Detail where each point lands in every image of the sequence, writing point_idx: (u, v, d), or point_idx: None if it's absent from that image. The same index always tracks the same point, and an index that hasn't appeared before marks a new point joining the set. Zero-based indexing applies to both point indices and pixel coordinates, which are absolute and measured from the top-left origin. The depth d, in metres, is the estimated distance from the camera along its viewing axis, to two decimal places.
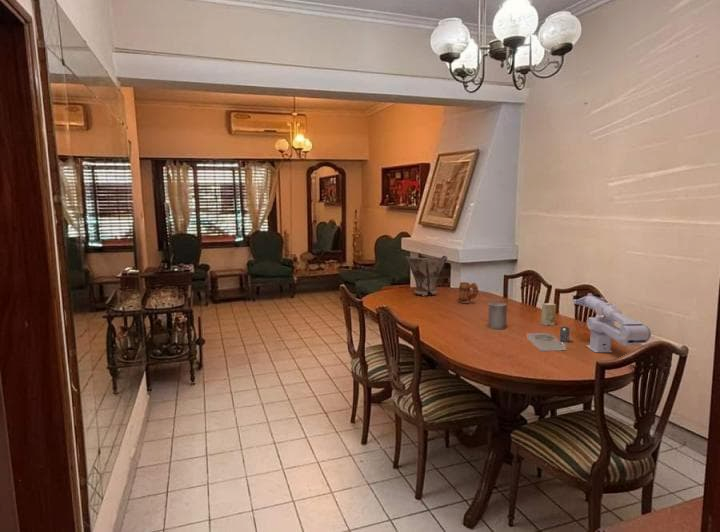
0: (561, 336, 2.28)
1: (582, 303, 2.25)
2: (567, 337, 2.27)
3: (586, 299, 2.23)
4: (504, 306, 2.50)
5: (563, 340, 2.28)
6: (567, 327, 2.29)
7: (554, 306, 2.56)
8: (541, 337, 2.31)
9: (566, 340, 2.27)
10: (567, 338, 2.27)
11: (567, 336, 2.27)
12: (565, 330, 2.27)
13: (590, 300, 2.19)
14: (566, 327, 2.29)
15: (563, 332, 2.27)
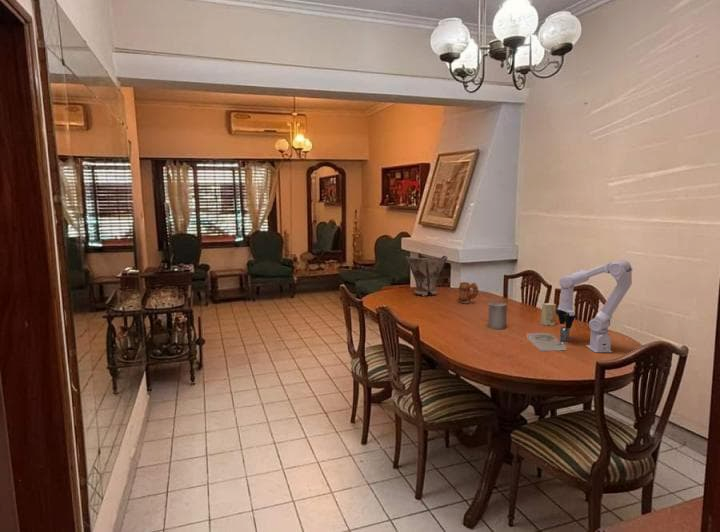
0: (561, 336, 2.28)
1: (570, 310, 2.23)
2: (567, 337, 2.27)
3: (565, 307, 2.24)
4: (504, 306, 2.50)
5: (563, 340, 2.28)
6: None
7: (554, 306, 2.56)
8: (541, 337, 2.31)
9: (566, 340, 2.27)
10: (567, 338, 2.27)
11: (567, 336, 2.27)
12: (565, 330, 2.27)
13: (564, 300, 2.24)
14: None
15: (563, 332, 2.27)
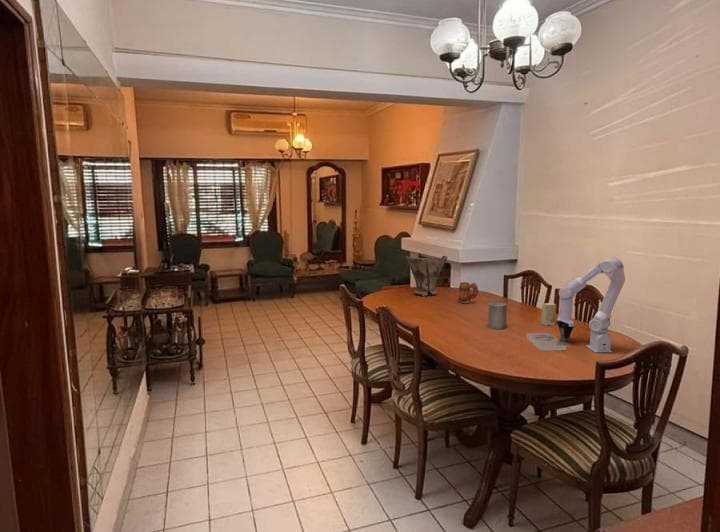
0: (561, 336, 2.28)
1: None
2: None
3: (564, 317, 2.25)
4: (504, 306, 2.50)
5: (563, 340, 2.28)
6: None
7: (554, 306, 2.56)
8: (541, 337, 2.31)
9: (566, 340, 2.27)
10: (567, 338, 2.27)
11: None
12: None
13: (564, 311, 2.25)
14: None
15: (563, 332, 2.27)
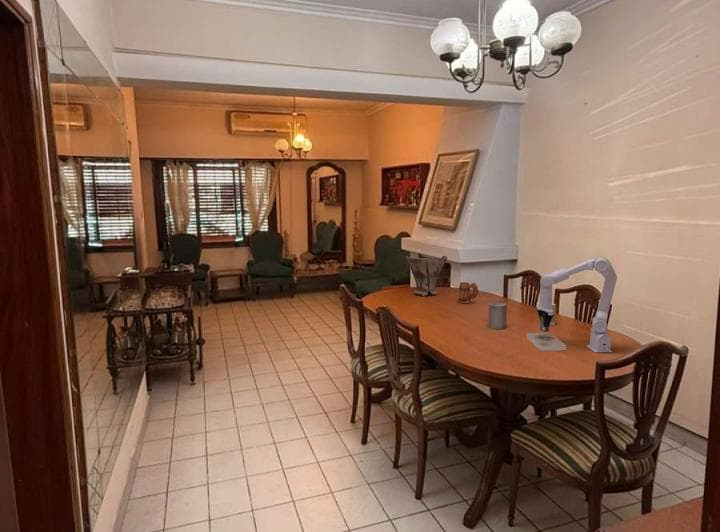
0: (541, 325, 2.26)
1: (550, 310, 2.22)
2: None
3: (544, 306, 2.23)
4: (504, 306, 2.50)
5: (543, 329, 2.25)
6: None
7: (554, 306, 2.56)
8: (541, 337, 2.31)
9: (546, 329, 2.25)
10: (547, 327, 2.25)
11: None
12: None
13: (543, 299, 2.22)
14: None
15: (543, 321, 2.24)
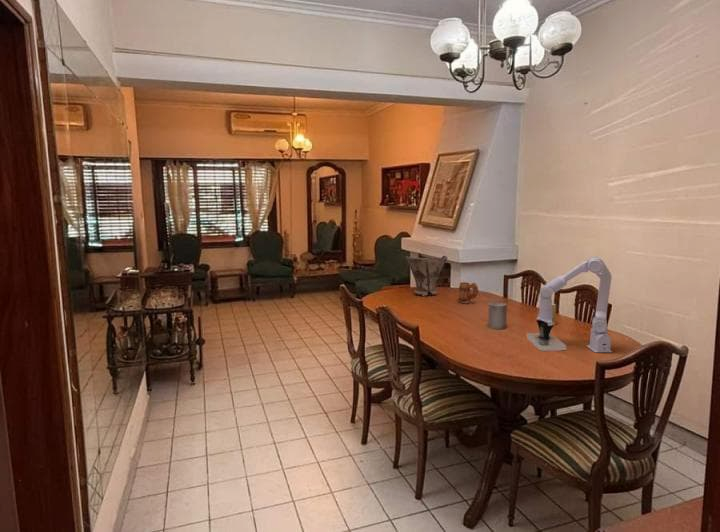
0: (541, 335, 2.27)
1: None
2: None
3: (543, 316, 2.23)
4: (504, 306, 2.50)
5: None
6: None
7: (554, 306, 2.56)
8: None
9: (546, 339, 2.25)
10: (547, 337, 2.25)
11: None
12: None
13: (543, 310, 2.23)
14: None
15: None
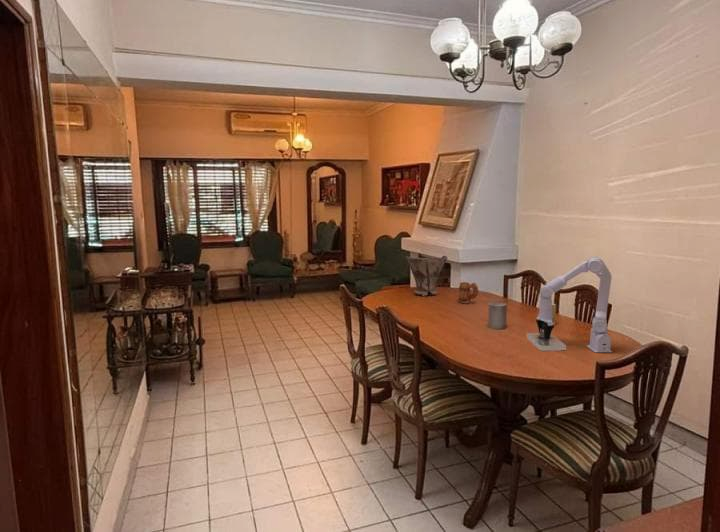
0: (541, 337, 2.27)
1: None
2: (547, 338, 2.25)
3: (543, 316, 2.23)
4: (504, 306, 2.50)
5: None
6: None
7: (554, 306, 2.56)
8: None
9: None
10: (547, 339, 2.26)
11: None
12: None
13: (543, 310, 2.23)
14: None
15: (543, 334, 2.25)
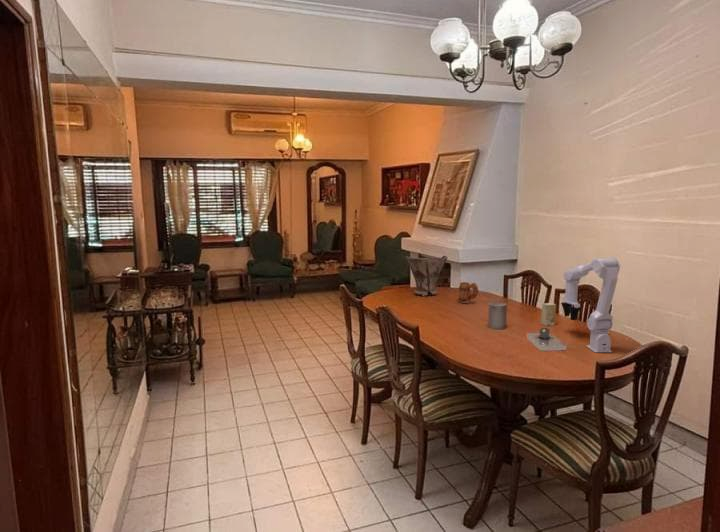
0: (541, 337, 2.27)
1: (575, 303, 2.33)
2: (547, 338, 2.25)
3: (570, 299, 2.33)
4: (504, 306, 2.50)
5: None
6: (547, 328, 2.28)
7: (554, 306, 2.56)
8: None
9: None
10: (547, 339, 2.26)
11: (546, 337, 2.25)
12: (545, 331, 2.25)
13: (569, 293, 2.33)
14: (546, 328, 2.27)
15: (543, 334, 2.25)
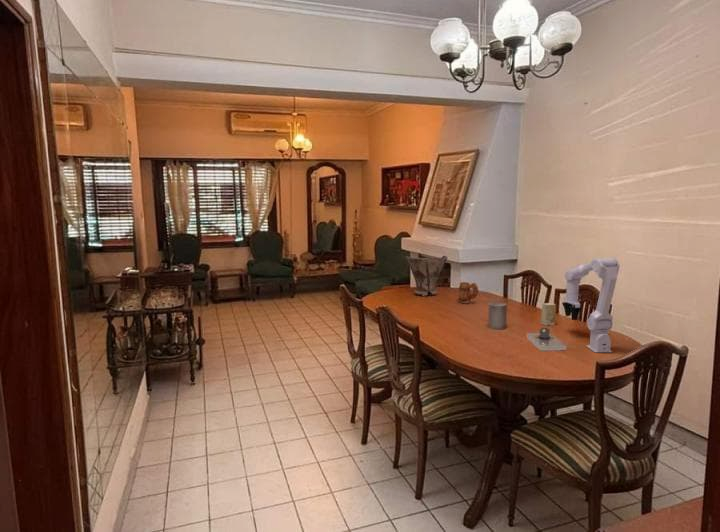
0: (541, 337, 2.27)
1: (576, 303, 2.33)
2: (547, 338, 2.25)
3: (571, 299, 2.34)
4: (504, 306, 2.50)
5: None
6: (547, 328, 2.28)
7: (554, 306, 2.56)
8: None
9: None
10: (547, 339, 2.26)
11: (546, 337, 2.25)
12: (545, 331, 2.25)
13: (570, 293, 2.34)
14: (546, 328, 2.27)
15: (543, 334, 2.25)
